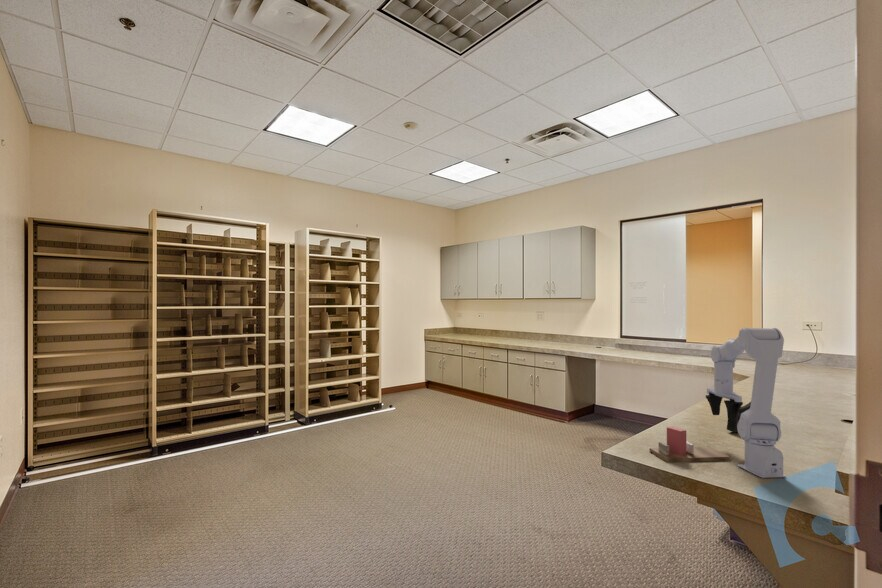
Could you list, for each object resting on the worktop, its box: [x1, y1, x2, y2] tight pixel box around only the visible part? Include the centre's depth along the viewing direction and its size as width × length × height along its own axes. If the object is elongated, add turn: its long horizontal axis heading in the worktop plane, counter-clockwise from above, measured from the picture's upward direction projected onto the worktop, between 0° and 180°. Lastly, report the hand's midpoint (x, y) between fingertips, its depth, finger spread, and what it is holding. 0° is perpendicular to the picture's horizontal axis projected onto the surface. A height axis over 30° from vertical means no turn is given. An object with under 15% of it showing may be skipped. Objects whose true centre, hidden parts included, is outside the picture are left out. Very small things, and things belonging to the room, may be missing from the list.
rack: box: [649, 441, 732, 463], centre depth 146 cm, size 22×10×4 cm, turn 95°
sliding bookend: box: [686, 440, 695, 454], centre depth 146 cm, size 1×4×3 cm, turn 6°
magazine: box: [726, 401, 751, 433], centre depth 180 cm, size 17×3×30 cm
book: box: [666, 425, 687, 456], centre depth 145 cm, size 5×3×8 cm, turn 26°
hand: (723, 417), depth 156 cm, fingers open, 7 cm apart
